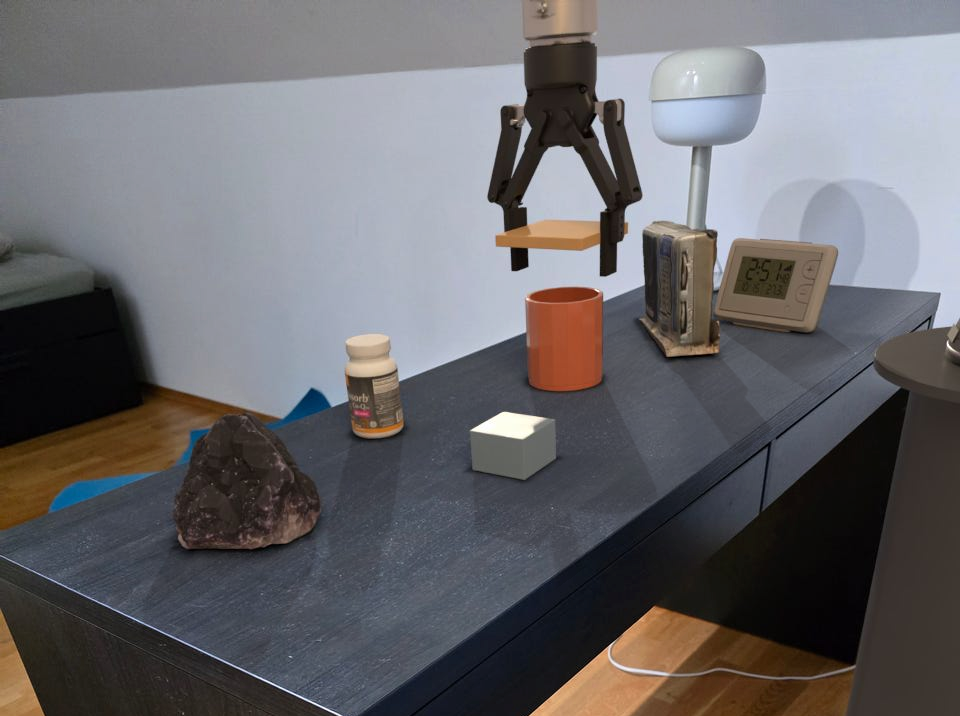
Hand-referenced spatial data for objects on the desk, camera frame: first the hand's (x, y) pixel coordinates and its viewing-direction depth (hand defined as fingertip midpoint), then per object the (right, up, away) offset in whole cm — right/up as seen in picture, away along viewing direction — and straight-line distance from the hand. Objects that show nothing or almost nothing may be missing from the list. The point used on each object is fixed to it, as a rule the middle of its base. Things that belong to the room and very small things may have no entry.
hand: (562, 271), depth 102 cm
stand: (-6, -25, -15) cm, 30 cm away
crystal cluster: (-30, -32, -23) cm, 50 cm away
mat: (0, +3, -2) cm, 3 cm away
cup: (+1, -11, +7) cm, 13 cm away
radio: (+17, -1, +20) cm, 26 cm away
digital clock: (+31, +2, +22) cm, 38 cm away
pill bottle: (-21, -20, -4) cm, 29 cm away
